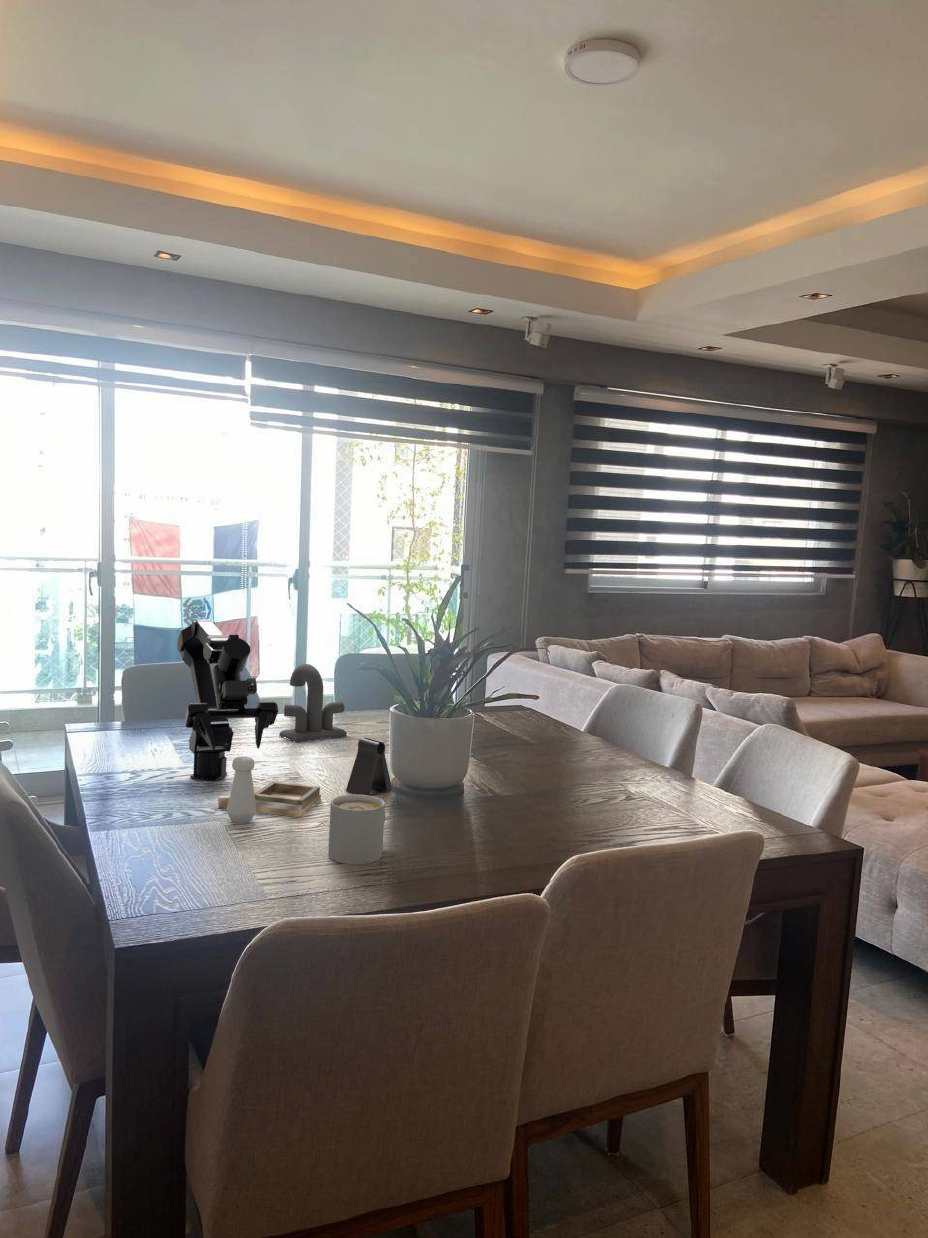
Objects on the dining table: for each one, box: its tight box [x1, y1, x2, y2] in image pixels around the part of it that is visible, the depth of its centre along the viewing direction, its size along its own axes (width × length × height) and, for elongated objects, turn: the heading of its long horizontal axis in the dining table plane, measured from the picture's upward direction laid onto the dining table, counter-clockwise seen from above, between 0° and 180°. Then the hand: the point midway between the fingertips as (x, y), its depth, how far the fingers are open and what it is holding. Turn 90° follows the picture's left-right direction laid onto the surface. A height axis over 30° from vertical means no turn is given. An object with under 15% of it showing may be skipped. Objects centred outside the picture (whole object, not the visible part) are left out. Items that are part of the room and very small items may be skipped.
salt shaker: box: [226, 755, 257, 825], centre depth 188 cm, size 6×6×13 cm
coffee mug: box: [327, 794, 386, 865], centre depth 174 cm, size 13×10×10 cm
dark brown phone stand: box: [345, 737, 393, 797], centre depth 214 cm, size 9×6×12 cm, turn 139°
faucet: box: [278, 663, 348, 743], centre depth 267 cm, size 18×16×20 cm
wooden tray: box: [217, 780, 322, 818], centre depth 201 cm, size 18×13×3 cm
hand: (236, 748), depth 194 cm, fingers open, 9 cm apart
